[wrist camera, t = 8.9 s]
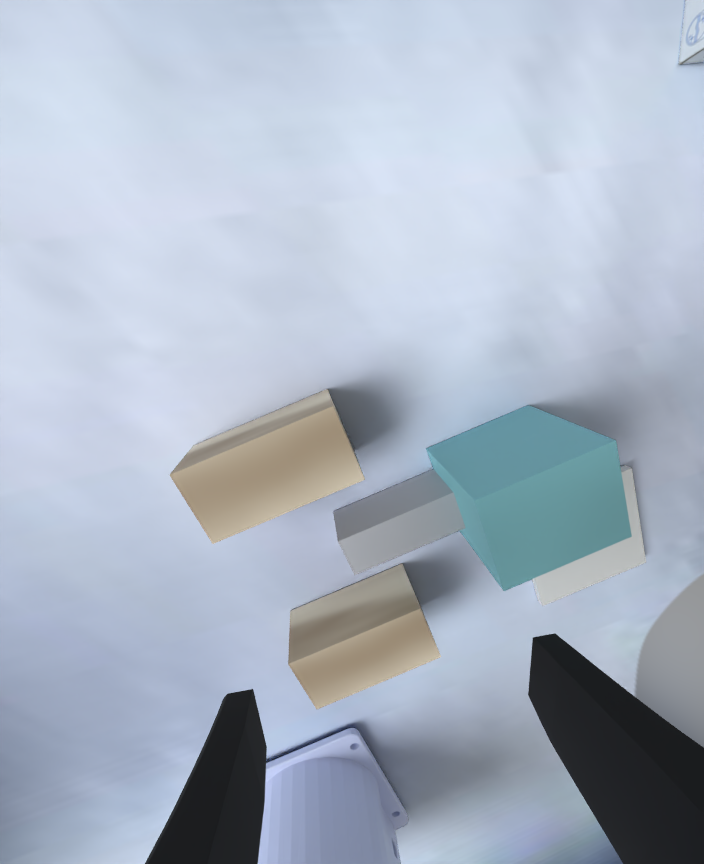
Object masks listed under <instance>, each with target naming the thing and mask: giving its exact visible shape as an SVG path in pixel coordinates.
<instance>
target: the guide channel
mask: <svg viewBox="0 0 704 864" xmlns="http://www.w3.org/2000/svg"><path fill="white" fill-rule="evenodd" d="M170 477H171V478H172V480H173V481H174V483H175V485H176V486H177V488H178V489H179V491H180V492H181V494H182V496H183V497H184V499H185V500H186V502H187V504H188V505H189V507H190V508H191V510H192V512H193V513H194V515H195V516H196V518H197V520H198V521H199V523H200V524H201V526H202V528H203V529H204V531H205V532H206V534H207V535H208V537H209V539H210V540H211V542H212V543H213V544H214V543H216V542H218V541H221V540H223V539H226V538H228V537H230V536H233V535H235V534H237V533H240V532H242V531H245V530H247V529H249V528H252V527H254V526H256V525H259V524H261V523H263V522H266V521H268V520H271V519H273V518H275V517H278V516H280V515H282V514H285V513H287V512H290V511H292V510H294V509H297V508H299V507H301V506H304V505H306V504H308V503H311V502H313V501H316V500H318V499H320V498H323V497H325V496H327V495H330V494H332V493H335V492H337V491H339V490H342V489H344V488H346V487H349V486H351V485H354V484H356V483H358V482H361V481H363V480H365V478H364V476H363V473H362V471H361V468H360V465H359V463H358V460H357V457H356V455H355V452H354V450H353V447H352V445H351V443H350V440H349V438H348V436H347V433H346V431H345V429H344V426H343V424H342V422H341V419H340V417H339V415H338V412H337V410H336V408H335V405H334V403H333V401H332V398H331V396H330V394H329V391H328V389H326V390H324V391H321V392H319V393H317V394H314V395H312V396H309V397H307V398H305V399H302V400H300V401H298V402H295V403H293V404H290V405H288V406H286V407H283V408H281V409H279V410H276V411H274V412H272V413H269V414H267V415H264V416H262V417H260V418H257V419H255V420H253V421H250V422H248V423H245V424H243V425H241V426H238V427H236V428H234V429H231V430H229V431H226V432H224V433H222V434H219V435H217V436H215V437H212V438H210V439H208V440H205V441H203V442H200V443H198V444H196V445H193V447H192V448H191V449H190V450H189V452H188V453H187V454H186V455H185V456H184V458H183V459H182V460H181V461H180V463H179V464H178V465H177V466H176V468H175V469H174V470H173V471H172V472H171V474H170ZM440 657H441V656H440V653H439V651H438V648H437V646H436V643H435V641H434V638H433V636H432V633H431V631H430V628H429V626H428V624H427V621H426V619H425V616H424V614H423V611H422V609H421V606H420V604H419V602H418V599H417V597H416V595H415V592H414V590H413V588H412V585H411V583H410V581H409V578H408V576H407V574H406V571H405V569H404V567H403V564H400V565H398V566H395V567H393V568H390V569H388V570H386V571H383V572H381V573H379V574H376V575H374V576H371V577H369V578H367V579H364V580H362V581H360V582H357V583H355V584H353V585H350V586H348V587H345V588H343V589H341V590H338V591H336V592H334V593H331V594H329V595H326V596H324V597H322V598H319V599H317V600H315V601H312V602H310V603H308V604H305V605H303V606H300V607H298V608H296V609H293V610H291V611H290V633H289V660H288V664H289V666H290V668H291V669H292V671H293V672H294V674H295V676H296V677H297V679H298V680H299V682H300V684H301V685H302V687H303V688H304V690H305V691H306V693H307V695H308V696H309V698H310V699H311V701H312V703H313V704H314V706H315V707H316V709H319V708H322V707H324V706H326V705H329V704H331V703H333V702H336V701H338V700H341V699H343V698H345V697H348V696H350V695H352V694H355V693H357V692H359V691H362V690H364V689H367V688H369V687H371V686H374V685H376V684H378V683H381V682H383V681H386V680H388V679H390V678H393V677H395V676H397V675H400V674H402V673H404V672H407V671H409V670H412V669H414V668H416V667H419V666H421V665H423V664H426V663H428V662H430V661H433V660H435V659H438V658H440Z"/></svg>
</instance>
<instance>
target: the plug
mask: <svg viewBox="0 0 704 864" xmlns="http://www.w3.org/2000/svg"><path fill="white" fill-rule="evenodd" d="M426 450H427V452H428V455H429V458H430V461H431V464H432V466H433V469H432V470H430V471H428V472H425V473H423V474H420V475H418V476H416V477H413V478H411V479H409V480H406V481H404V482H402V483H399V484H397V485H395V486H392V487H390V488H388V489H385V490H383V491H380V492H378V493H376V494H373V495H371V496H369V497H366V498H364V499H362V500H359V501H357V502H355V503H352V504H350V505H348V506H345V507H343V508H340V509H338V510H336V511H333V514H334V520H335V526H336V532H337V538H338V542H339V544H340V546H341V548H342V550H343V553H344V555H345V557H346V559H347V561H348V563H349V565H350V567H351V569H352V571H353V573H354V575H356V574H359V573H361V572H364V571H366V570H368V569H371V568H373V567H375V566H378V565H380V564H382V563H385V562H387V561H389V560H392V559H394V558H396V557H399V556H401V555H403V554H406V553H408V552H410V551H413V550H415V549H418V548H420V547H422V546H425V545H427V544H429V543H432V542H434V541H436V540H439V539H441V538H443V537H446V536H448V535H450V534H453V533H455V532H457V531H460V532H461V533H462V535H463V536H464V537H465V539H466V540H467V541H468V543H469V544H470V545H471V547H472V548H473V550H474V551H475V552H476V554H477V555H478V556H479V558H480V559H481V560H482V562H483V563H484V565H485V566H486V567H487V569H488V570H489V571H490V573H491V574H492V575H493V577H494V578H495V580H496V581H497V582H498V584H499V585H500V586H501V588H502V589H503V591H505V590H508V589H510V588H512V587H515V586H517V585H520V584H522V583H524V582H527V581H529V580H531V579H534V578H536V577H538V576H541V575H543V574H545V573H548V572H550V571H552V570H555V569H557V568H559V567H562V566H564V565H566V564H569V563H571V562H573V561H576V560H578V559H581V558H583V557H585V556H588V555H590V554H592V553H595V552H597V551H599V550H602V549H604V548H606V547H609V546H611V545H613V544H616V543H618V542H620V541H623V540H625V539H627V538H630V537H632V534H631V528H630V522H629V516H628V510H627V504H626V498H625V492H624V486H623V480H622V473H621V467H620V461H619V455H618V449H617V443H616V440H614V439H611V438H609V437H606V436H604V435H601V434H599V433H596V432H594V431H591V430H589V429H587V428H584V427H582V426H579V425H577V424H574V423H572V422H569V421H567V420H564V419H562V418H559V417H557V416H554V415H552V414H549V413H547V412H544V411H542V410H539V409H537V408H534V407H532V406H529V405H527V406H525V407H522V408H520V409H518V410H515V411H513V412H511V413H508V414H506V415H504V416H501V417H499V418H497V419H494V420H492V421H490V422H487V423H485V424H482V425H480V426H478V427H475V428H473V429H471V430H468V431H466V432H464V433H461V434H459V435H457V436H454V437H452V438H450V439H447V440H445V441H442V442H440V443H438V444H435V445H433V446H431V447H428V448H426Z"/></svg>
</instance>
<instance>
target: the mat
mask: <svg viewBox="0 0 704 864" xmlns="http://www.w3.org/2000/svg"><path fill="white" fill-rule="evenodd" d="M621 473H622V480H623V486H624V492H625V498H626V504H627V510H628V516H629V522H630V528H631V534H632V537H630V538H627V539H625V540H623V541H620V542H618V543H616V544H613V545H611V546H609V547H606V548H604V549H602V550H599V551H597V552H595V553H592V554H590V555H588V556H585V557H583V558H581V559H578V560H576V561H573V562H571V563H569V564H566V565H564V566H562V567H559V568H557V569H555V570H552V571H550V572H548V573H545V574H543V575H541V576H538V577H536V578H534V579H532V581H533V584H534V588H535V591H536V595H537V598H538V601H539V602H540V604H541V605H542V606H544V605H547V604H549V603H551V602H554V601H556V600H559V599H561V598H563V597H566V596H568V595H570V594H573V593H575V592H577V591H580V590H582V589H585V588H587V587H589V586H592V585H594V584H596V583H599V582H601V581H604V580H606V579H608V578H611V577H613V576H615V575H618V574H620V573H622V572H625V571H627V570H630V569H632V568H634V567H637V566H639V565H641V564H644V563H646V558H645V552H644V545H643V538H642V532H641V525H640V519H639V512H638V505H637V499H636V492H635V486H634V479H633V472H632V468H631V467H629V466H627V465H624V466H621Z"/></svg>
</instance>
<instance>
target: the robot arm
mask: <svg viewBox="0 0 704 864" xmlns="http://www.w3.org/2000/svg"><path fill="white" fill-rule="evenodd" d="M528 695H529V697H530V700H531V702H532V704H533V706H534V708H535V710H536V712H537V715H538V717H539V719H540V721H541V723H542V725H543V727H544V729H545V731H546V733H547V735H548V737H549V739H550V741H551V743H552V745H553V747H554V748H555V750H556V752H557V754H558V755H559V757H560V759H561V760H562V762H563V764H564V765H565V767H566V769H567V770H568V772H569V774H570V775H571V777H572V779H573V781H574V782H575V784H576V786H577V787H578V789H579V791H580V792H581V794H582V796H583V797H584V799H585V801H586V802H587V804H588V806H589V807H590V809H591V811H592V812H593V814H594V816H595V817H596V819H597V821H598V822H599V824H600V826H601V827H602V829H603V831H604V832H605V834H606V836H607V837H608V839H609V841H610V842H611V844H612V846H613V847H614V849H615V851H616V852H617V854H618V856H619V857H620V859H621V861H622V862H623V864H704V748H703V747H702V746H700V745H699V744H698V743H696V742H695V741H693V740H692V739H691V738H689V737H688V736H686V735H685V734H684V733H682V732H681V731H679V730H678V729H677V728H675V727H674V726H673V725H671V724H670V723H669V722H667V721H666V720H665V719H663V718H662V717H660V716H659V715H658V714H657V713H655V712H654V711H653V710H651V709H650V708H648V707H647V706H646V705H645V704H643V703H642V702H641V701H640V700H638V699H637V698H635V697H634V696H633V695H632V694H630V693H629V692H628V691H627V690H625V689H624V688H623V687H621V686H620V685H619V684H618V683H616V682H615V681H614V680H613V679H611V678H610V677H609V676H607V675H606V674H605V673H604V672H602V671H601V670H600V669H599V668H597V667H596V666H595V665H594V664H592V663H591V662H590V661H589V660H587V659H586V658H585V657H584V656H582V655H581V654H580V653H579V652H577V651H576V650H575V649H574V648H572V647H571V646H570V645H569V644H567V643H566V642H565V641H564V640H562V639H561V638H560V637H559V636H557V635H556V634H550V635H544V636H539V637H534V638H533V643H532V656H531V668H530V681H529V693H528ZM266 748H267V747H266V743H265V738H264V734H263V730H262V726H261V721H260V717H259V713H258V708H257V704H256V700H255V696H254V691H253V689H251V690H246V691H240V692H235V693H229V694H227V695H226V696H225V697H224V699H223V701H222V704H221V706H220V709H219V711H218V714H217V716H216V718H215V721H214V723H213V726H212V728H211V730H210V733H209V735H208V737H207V739H206V742H205V744H204V746H203V748H202V751H201V753H200V755H199V757H198V759H197V762H196V764H195V766H194V768H193V770H192V772H191V774H190V776H189V778H188V780H187V782H186V785H185V787H184V789H183V791H182V793H181V795H180V797H179V799H178V801H177V803H176V805H175V807H174V809H173V811H172V813H171V815H170V817H169V819H168V821H167V823H166V825H165V827H164V829H163V831H162V833H161V834H160V836H159V838H158V840H157V842H156V844H155V846H154V848H153V850H152V851H151V853H150V855H149V857H148V859H147V861H146V863H145V864H401V861H400V855H399V850H398V844H397V839H396V833H395V830H396V829H399V828H401V827H403V826H405V825H406V824H407V823H408V816H407V812H406V811H405V809H404V807H403V805H402V804H401V802H400V800H399V799H398V797H397V795H396V794H395V792H394V790H393V788H392V787H391V785H390V783H389V782H388V780H387V778H386V777H385V775H384V773H383V771H382V770H381V768H380V766H379V765H378V763H377V761H376V760H375V758H374V756H373V754H372V753H371V751H370V749H369V748H368V746H367V744H366V743H365V741H364V739H363V737H362V736H361V734H360V732H359V731H358V730H357V729H355V728H349V729H346V730H344V731H341V732H339V733H336V734H334V735H332V736H329V737H327V738H325V739H322V740H320V741H317V742H315V743H313V744H310V745H308V746H306V747H303V748H301V749H299V750H296V751H294V752H291V753H289V754H287V755H284V756H282V757H280V758H277V759H275V760H273V761H270V762H268V763H266Z"/></svg>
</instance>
